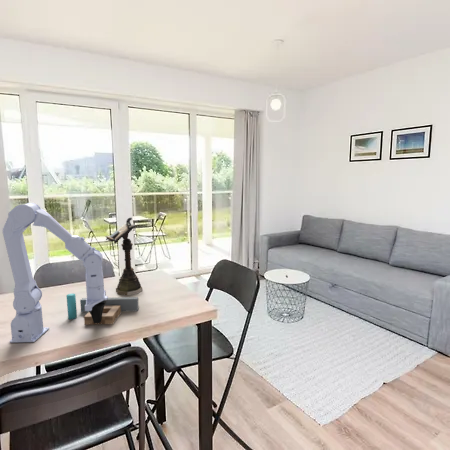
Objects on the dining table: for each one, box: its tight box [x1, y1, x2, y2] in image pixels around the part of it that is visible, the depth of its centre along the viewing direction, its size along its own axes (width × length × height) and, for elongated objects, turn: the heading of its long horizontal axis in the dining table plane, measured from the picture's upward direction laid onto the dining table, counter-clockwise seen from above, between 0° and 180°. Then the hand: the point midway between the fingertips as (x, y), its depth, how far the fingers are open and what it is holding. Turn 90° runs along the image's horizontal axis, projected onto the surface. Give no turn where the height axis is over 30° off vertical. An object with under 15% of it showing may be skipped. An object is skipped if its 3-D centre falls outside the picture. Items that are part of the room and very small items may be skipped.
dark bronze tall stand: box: [105, 217, 143, 296], centre depth 145 cm, size 17×13×35 cm
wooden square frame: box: [83, 305, 122, 326], centre depth 119 cm, size 10×10×3 cm
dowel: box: [66, 293, 78, 321], centre depth 120 cm, size 3×3×9 cm
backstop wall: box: [79, 296, 139, 313], centre depth 128 cm, size 4×22×5 cm, turn 92°
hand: (97, 322), depth 113 cm, fingers closed
